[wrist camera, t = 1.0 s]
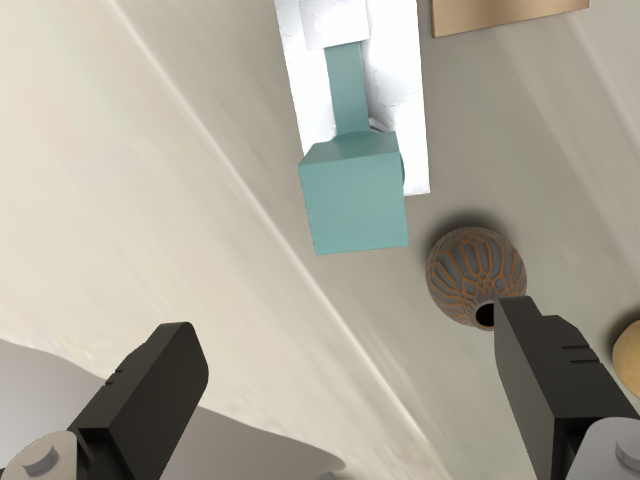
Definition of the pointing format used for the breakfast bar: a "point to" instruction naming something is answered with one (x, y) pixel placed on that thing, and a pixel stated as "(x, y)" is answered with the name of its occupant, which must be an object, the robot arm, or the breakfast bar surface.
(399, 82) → the post
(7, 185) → the breakfast bar surface
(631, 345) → the onion
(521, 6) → the wooden coaster
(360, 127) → the teal block with handle
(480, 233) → the vase
